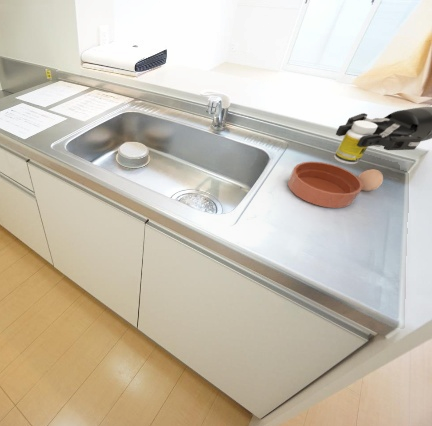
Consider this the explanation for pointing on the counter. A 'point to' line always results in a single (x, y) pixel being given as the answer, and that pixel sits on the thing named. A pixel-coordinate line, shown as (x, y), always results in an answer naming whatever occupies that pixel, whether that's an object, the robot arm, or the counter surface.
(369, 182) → the egg
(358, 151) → the supplement bottle
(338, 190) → the bowl
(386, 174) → the counter surface
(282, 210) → the counter surface
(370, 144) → the robot arm
